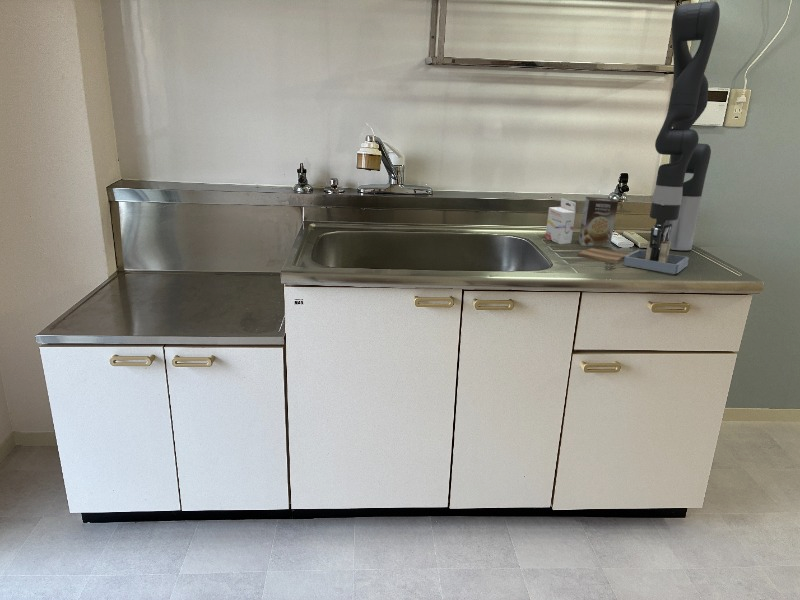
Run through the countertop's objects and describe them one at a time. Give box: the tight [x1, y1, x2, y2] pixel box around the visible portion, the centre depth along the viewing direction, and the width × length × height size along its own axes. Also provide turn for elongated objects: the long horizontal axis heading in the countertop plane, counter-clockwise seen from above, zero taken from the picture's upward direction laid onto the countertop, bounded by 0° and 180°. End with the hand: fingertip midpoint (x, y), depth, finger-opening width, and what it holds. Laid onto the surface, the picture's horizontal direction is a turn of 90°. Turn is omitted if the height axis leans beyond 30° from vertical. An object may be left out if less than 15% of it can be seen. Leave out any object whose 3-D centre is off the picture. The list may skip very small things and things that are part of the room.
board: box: [576, 247, 629, 265], centre depth 175 cm, size 12×12×1 cm
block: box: [644, 240, 671, 263], centre depth 167 cm, size 5×5×7 cm
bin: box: [622, 249, 690, 275], centre depth 167 cm, size 15×15×2 cm
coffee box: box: [578, 196, 619, 248], centre depth 187 cm, size 9×6×16 cm
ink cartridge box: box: [544, 197, 577, 245], centre depth 190 cm, size 9×5×15 cm, turn 22°
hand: (656, 260), depth 167 cm, fingers closed on block, 5 cm apart
